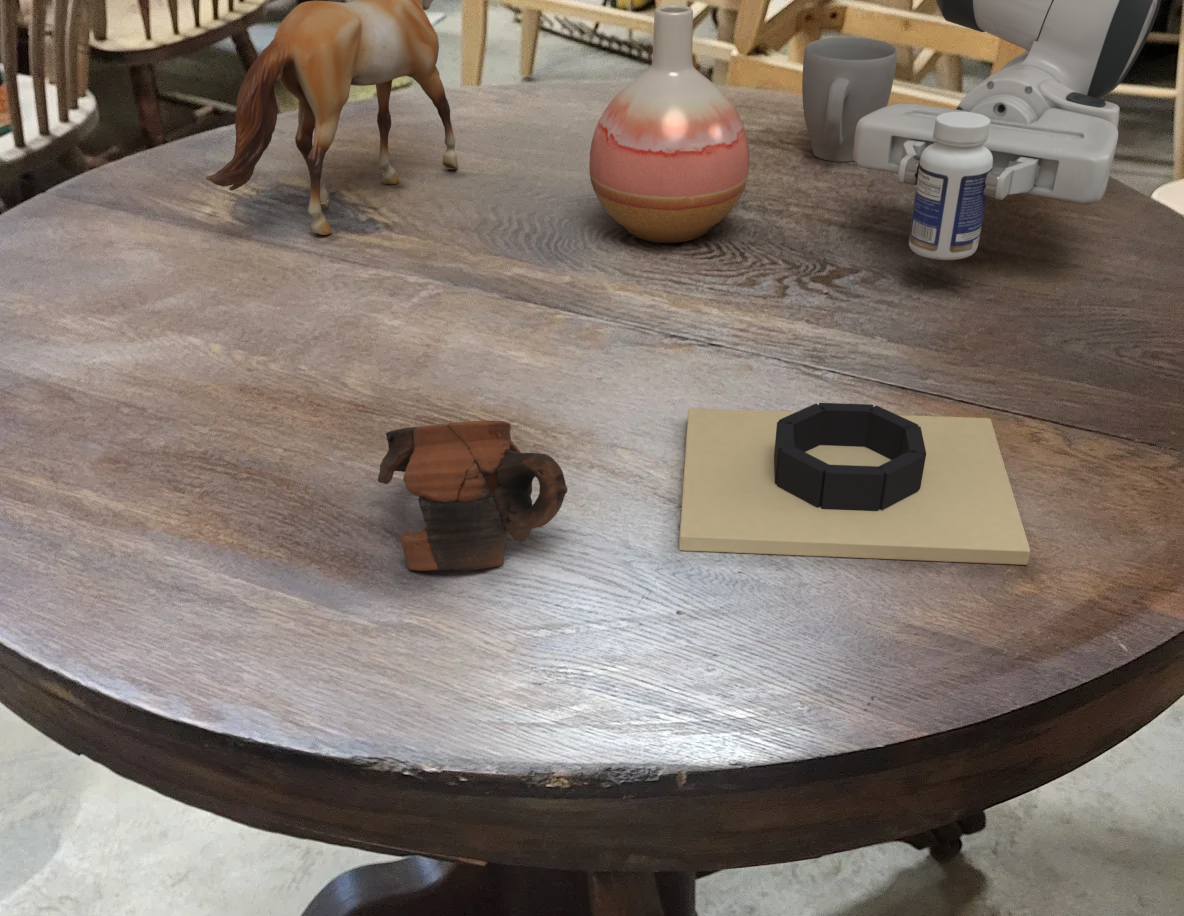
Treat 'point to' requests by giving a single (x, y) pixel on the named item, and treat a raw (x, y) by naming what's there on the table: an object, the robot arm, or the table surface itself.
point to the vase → (669, 144)
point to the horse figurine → (335, 83)
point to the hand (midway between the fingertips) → (950, 180)
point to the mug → (844, 90)
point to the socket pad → (848, 486)
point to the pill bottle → (951, 188)
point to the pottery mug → (470, 492)
